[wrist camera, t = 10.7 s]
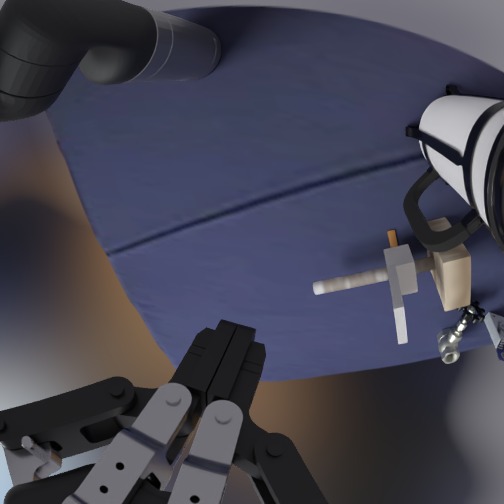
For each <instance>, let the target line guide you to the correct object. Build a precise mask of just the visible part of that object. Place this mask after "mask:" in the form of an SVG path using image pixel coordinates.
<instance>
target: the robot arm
mask: <svg viewBox="0 0 504 504" xmlns="http://www.w3.org/2000/svg"><path fill="white" fill-rule="evenodd" d="M220 56H221V44H220V40H219V38H218V36H217V35H216V34H215V33H214V32H213V31H212V30H210V29H208V28H206V27H203V26H201V25H198V24H196V23H193V22H190V21H187V20H184V19H181V18H178V17H175V16H172V15H169V14H166V13H163V12H159V11H156V10H151V9H148V8H144V7H141V6H136V5H133V4H130V3H127V2H125V1H122V0H6V1H5V3H4V5H3V6H2V8H1V10H0V122H7V121H14V120H20V119H25V118H29V117H32V116H35V115H37V114H39V113H41V112H43V111H45V110H46V109H48V108H49V107H50V106H51V105H52V104H53V103H54V102H55V100H56V99H57V98H58V96H59V95H60V94H61V92H62V90H63V89H64V87H65V86H66V84H67V82H68V81H69V79H70V77H71V76H72V74H73V73H74V71H75V70H76V68H77V67H78V65H79V66H80V69H81V71H82V72H83V74H84V75H85V76H86V77H87V78H88V79H89V80H90V81H92V82H94V83H97V84H103V85H110V84H120V83H132V82H145V81H168V80H197V79H201V78H203V77H205V76H207V75H208V74H210V73H211V72H212V71H213V70H214V69H215V67H216V66H217V64H218V62H219V60H220ZM255 333H256V329H254V328H251V327H247V326H244V325H240V324H239V325H238V324H236V323H233V322H229V321H226V320H223V319H222V320H221V321H220V322H219V324H218V326H217V328H216V330H213V329H210V328H207V327H206V328H205V329H204V330H202V331H201V332H200V333H198V334H197V335H196V337H195V339H194V341H193V342H192V345H191V346H190V348H189V349H188V351H187V353H186V354H185V356H184V358H183V360H182V361H181V363H180V365H179V367H178V368H177V370H176V372H175V374H174V376H173V377H172V379H171V380H170V381H169V382H168V384H165V385H162V386H161V387H160V388H156V389H148V388H140V387H134V386H133V385H132V383H131V382H130V381H129V380H128V379H126V378H124V377H112V378H109V379H106V380H103V381H100V382H97V383H94V384H91V385H88V386H85V387H82V388H79V389H76V390H72V391H69V392H66V393H63V394H60V395H57V396H53V397H50V398H46V399H43V400H40V401H36V402H33V403H29V404H26V405H22V406H18V407H14V408H11V409H7V410H3V411H0V444H1V445H2V446H3V448H4V452H5V456H6V460H7V464H8V468H9V472H10V475H11V479H12V482H13V485H14V487H12V488H11V489H10V490H9V491H8V492H7V494H6V496H5V499H4V504H221V501H222V498H223V495H224V491H225V487H226V484H227V480H228V477H229V473H230V470H231V466H232V463H233V464H234V465H235V466H237V467H238V468H240V469H241V470H243V471H245V472H246V473H247V474H248V476H249V478H250V480H251V483H252V485H253V487H254V489H255V491H256V493H257V495H258V497H259V499H260V501H261V503H262V504H328V502H327V500H326V499H325V497H324V496H323V494H322V492H321V491H320V489H319V487H318V486H317V484H316V482H315V481H314V479H313V477H312V475H311V474H310V472H309V470H308V469H307V467H306V465H305V463H304V462H303V460H302V458H301V456H300V454H299V453H298V451H297V449H296V447H295V446H294V444H293V442H292V441H291V440H290V439H289V438H288V437H287V436H285V435H282V434H280V433H268V432H266V431H264V430H263V429H261V428H260V427H258V426H257V425H256V424H255V423H254V422H253V421H252V420H251V418H250V416H249V409H250V406H251V404H252V401H253V398H254V395H255V392H256V389H257V386H258V383H259V380H260V377H261V374H262V370H263V366H264V362H265V357H266V351H265V346H264V344H261V343H258V342H254V339H255ZM200 417H201V418H202V419H201V422H200V425H199V428H198V430H197V433H196V436H195V439H194V441H193V445H192V447H191V450H190V453H189V455H188V457H187V458H186V459H185V460H184V462H183V464H182V466H181V469H180V472H179V474H178V477H177V480H176V482H175V485H174V488H173V491H172V492H166V491H163V490H164V488H165V487H166V485H167V483H168V482H169V480H170V478H171V476H172V472H173V468H174V466H175V464H176V462H177V461H178V459H179V457H180V456H181V454H182V452H183V450H184V449H185V447H186V445H187V444H188V442H189V440H190V438H191V437H192V435H193V433H194V431H195V427H196V424H197V422H198V420H199V418H200ZM108 444H110V445H109V446H108V448H107V449H106V450H105V452H104V453H103V455H102V456H101V457H100V459H99V460H98V461H97V463H95V464H89V465H85V466H82V467H79V468H76V469H73V470H70V471H67V472H64V473H60V474H57V475H54V476H50V477H48V476H49V475H50V474H52V473H54V472H56V471H58V470H59V469H60V468H61V464H62V459H63V458H66V457H70V456H73V455H76V454H80V453H83V452H87V451H89V450H93V449H96V448H99V447H102V446H105V445H108Z"/></svg>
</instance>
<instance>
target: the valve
mask: <svg viewBox="0 0 504 504" xmlns="http://www.w3.org/2000/svg"><path fill="white" fill-rule="evenodd" d="M478 306H479V302H477V301H475V302H472V301H471V299H470V306H469V305H468V306H464V307H460V308H457V310H458V311H460V310H461V309H462V310H463V312H464V313H463V315H462V318H463V319H461V320H459V322H458V324H457V327H453V328H451V329H450V328H446V329H442V330H441V331H440V332H439V334H438V336H437V339H438V342H439V351H440V353H441V357H442V360H443V361H444V362H445V363H446V364H449V363H453V362H455V361H456V360H457V359H458V357H459V356H460V353H459V350H458V341H460V340H461V338H462V337H463V333H462V331H463V330H464V329H465V328H466V326H467V322H469V321H470V320H472V322H473V323H474V324H476V323H477V322H478V320H479V318H480V319H481V320H480V322H483V321H484V319H485V316H484V315H483V314H484V313H485V310H484V309H483V308H481V309H480V308H479V307H478ZM475 309H476V311H477V313H478V314H477V315H476V314H474V313H475Z"/></svg>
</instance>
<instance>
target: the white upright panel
mask: <svg viewBox="0 0 504 504" xmlns="http://www.w3.org/2000/svg"><path fill="white" fill-rule="evenodd" d="M384 255H385V260H386V265H387V271H388V276H389V282H390V288H391V294H392V301H393V308H394V314H395V321H396V329H397V336H398V344H403V343H408V342H407V331H406V321H405V313H404V305H403V300H402V295H406V294H411V293H415V292H418V288H417V279H416V271H415V264H414V260H413V257H412V254H411V251H410V248H409V245H408V244H405V245H401V246H397V247H392V248H388V249H384Z"/></svg>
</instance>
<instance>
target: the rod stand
mask: <svg viewBox="0 0 504 504" xmlns="http://www.w3.org/2000/svg"><path fill="white" fill-rule="evenodd" d="M427 223H428V224H429V226H430V228H431V230H433V231H443V230H446V229H448V228H450V227H452V226H451V225H450V223H449V222H448V220H447V219H446V217H443V218H439V219H435V220H431V221H427ZM387 232H388V237H389V241H390V246H391V248H392V247H397V246H398V245H397V239H396V234H395V230H390V231H387ZM427 256H428V257H425V258H421V259H417V260H414V264H415V271H416V274H417V273H421V272H425V271H429V270H431V273H432V275H433V278H434V281H435V283H436V286H437V289H438V292H439V295H440V298H441V301H442V304H443V307H444V310H445V311H449V310H452V309H456V308H460V307H464V306H468V305H470V295H471V256H470V254H469V252H468V251H467V249H466V248H465V246H464V244H463V243H462V244H460V245H458V246H457V247H455V248H453V249H451V250H448V251H445V252H432V251H429V250H428V249H427ZM386 280H389V276H388V271H387V267H383V268H378V269H374V270H369V271H365V272H360V273H355V274H351V275H346V276H341V277H336V278H332V279H327V280H322V281H317V282H313V289H314V293H315V294H316V295H317V294H323V293H328V292H333V291H338V290H343V289H348V288H353V287H358V286H363V285H368V284H372V283H377V282H382V281H386Z"/></svg>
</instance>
